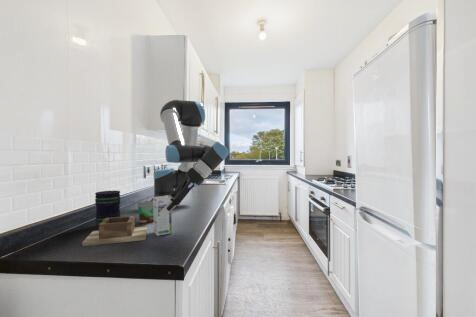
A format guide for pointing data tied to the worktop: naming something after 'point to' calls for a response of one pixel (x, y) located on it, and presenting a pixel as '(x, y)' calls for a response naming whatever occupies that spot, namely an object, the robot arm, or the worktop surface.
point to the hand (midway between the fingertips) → (160, 212)
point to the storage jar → (107, 205)
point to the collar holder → (116, 231)
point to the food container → (146, 212)
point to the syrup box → (161, 224)
